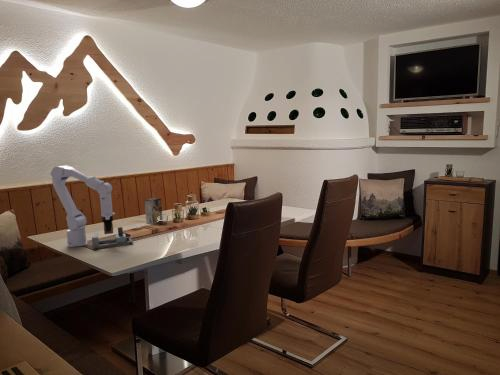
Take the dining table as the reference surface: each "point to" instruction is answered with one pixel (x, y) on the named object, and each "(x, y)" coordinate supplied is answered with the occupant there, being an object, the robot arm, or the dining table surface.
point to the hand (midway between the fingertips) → (108, 230)
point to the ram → (120, 236)
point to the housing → (108, 231)
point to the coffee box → (153, 210)
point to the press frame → (96, 241)
